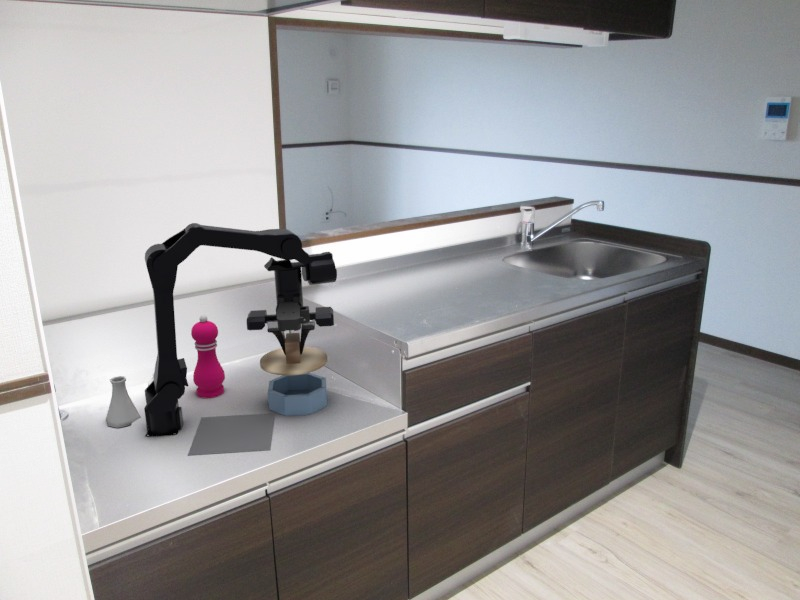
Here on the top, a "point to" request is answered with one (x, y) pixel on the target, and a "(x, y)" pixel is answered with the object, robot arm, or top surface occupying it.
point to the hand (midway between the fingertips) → (293, 354)
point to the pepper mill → (207, 360)
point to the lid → (293, 358)
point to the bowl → (297, 394)
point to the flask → (121, 405)
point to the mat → (233, 434)
